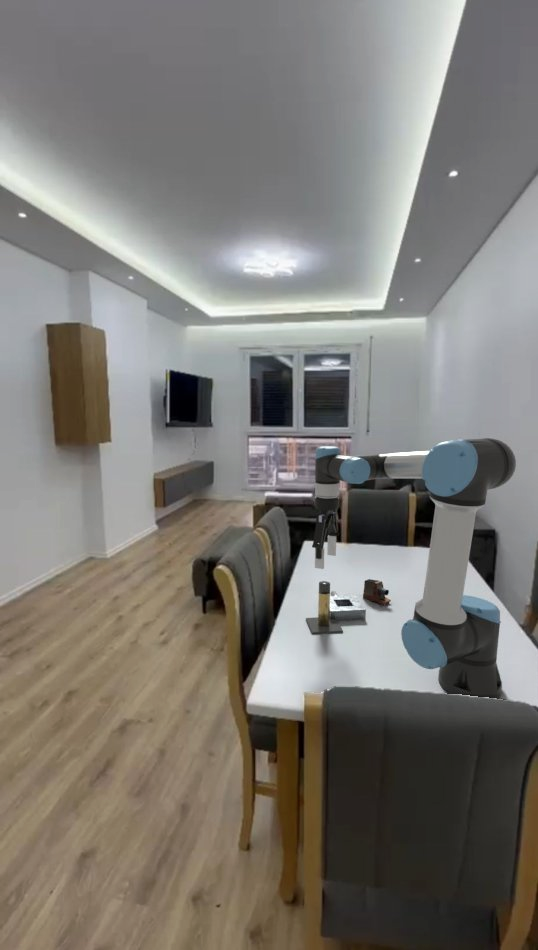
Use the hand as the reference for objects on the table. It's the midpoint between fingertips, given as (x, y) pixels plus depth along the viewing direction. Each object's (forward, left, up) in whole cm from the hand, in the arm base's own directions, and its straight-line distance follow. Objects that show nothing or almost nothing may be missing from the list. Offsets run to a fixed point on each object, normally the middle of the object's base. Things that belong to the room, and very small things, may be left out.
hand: (325, 561), depth 151 cm
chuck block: (+13, -9, -22) cm, 27 cm away
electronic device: (+17, -24, -22) cm, 37 cm away
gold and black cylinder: (0, 0, -21) cm, 21 cm away
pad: (0, 0, -22) cm, 22 cm away
